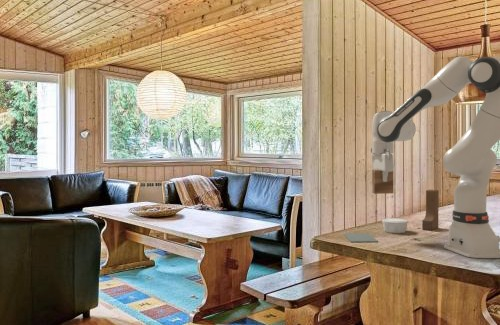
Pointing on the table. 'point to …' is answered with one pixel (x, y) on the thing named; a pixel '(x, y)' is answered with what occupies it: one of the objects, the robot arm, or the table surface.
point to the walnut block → (381, 183)
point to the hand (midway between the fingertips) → (382, 181)
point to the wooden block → (431, 210)
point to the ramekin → (394, 225)
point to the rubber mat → (360, 237)
